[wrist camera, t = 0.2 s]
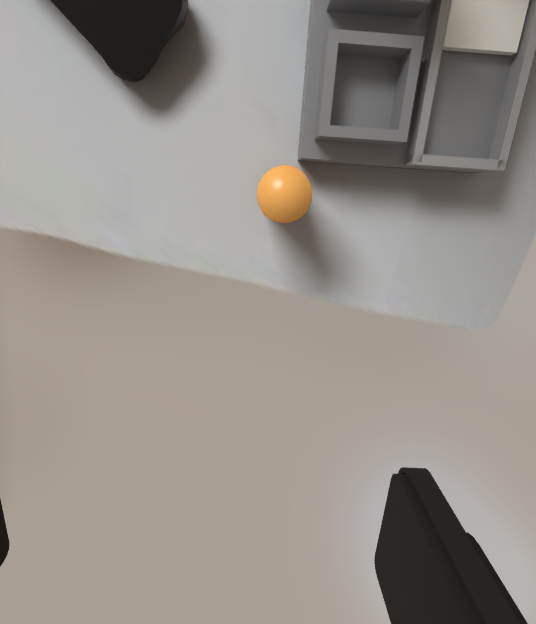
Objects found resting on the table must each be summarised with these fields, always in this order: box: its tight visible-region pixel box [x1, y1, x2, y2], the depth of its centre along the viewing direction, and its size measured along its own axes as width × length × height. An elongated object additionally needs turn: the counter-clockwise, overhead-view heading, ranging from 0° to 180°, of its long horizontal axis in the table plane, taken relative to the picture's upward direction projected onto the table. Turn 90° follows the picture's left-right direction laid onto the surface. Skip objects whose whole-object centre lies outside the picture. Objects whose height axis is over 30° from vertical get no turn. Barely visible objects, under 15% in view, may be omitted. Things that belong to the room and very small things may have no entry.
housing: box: [298, 0, 536, 173], centre depth 26 cm, size 18×17×12 cm
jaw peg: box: [257, 165, 312, 223], centre depth 31 cm, size 4×4×9 cm
